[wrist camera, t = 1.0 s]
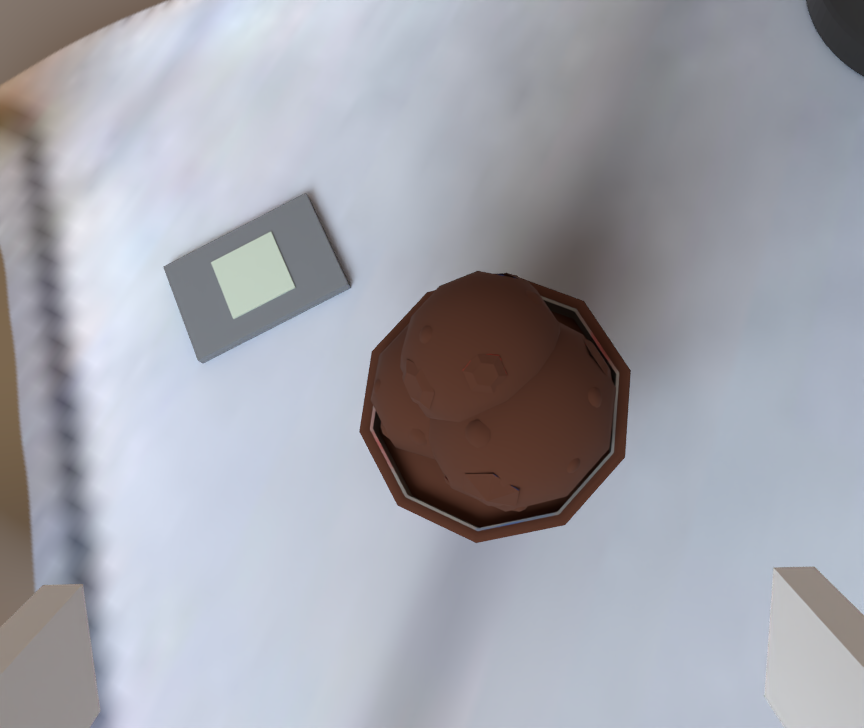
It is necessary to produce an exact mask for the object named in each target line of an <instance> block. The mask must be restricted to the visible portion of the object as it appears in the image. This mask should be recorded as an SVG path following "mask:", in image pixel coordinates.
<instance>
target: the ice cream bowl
mask: <svg viewBox="0 0 864 728" xmlns="http://www.w3.org/2000/svg"><path fill="white" fill-rule="evenodd" d="M630 371H631V370H630V369H629V368H628V366H627V365H626V363H625V362H624V360H623V359H622V357H621V356H620V354H619V353H618V351H617V350H616V348H615V347H614V345H613V344H612V342H611V341H610V339H609V338H608V336H607V335H606V333H605V332H604V330H603V329H602V328H601V326H600V325H599V323H598V322H597V320H596V319H595V317H594V316H593V314H592V313H591V311H590V310H589V308H588V307H587V305H586V304H585V302H584V301H582V300H579V299H576V298H574V297H571V296H568V295H566V294H563V293H560V292H557V291H555V290H552V289H549V288H546V287H544V286H541V285H538V284H535V283H533V282H530V281H527V280H524V279H522V278H520V277H518V276H517V275H512V274H508V273H504V274H491V273H486V272H481V271H476V272H474V273H471V274H469V275H466V276H464V277H461V278H459V279H456V280H454V281H451V282H449V283H446V284H444V285H441V286H439V287H438V288H437V290H435V291H431V292H427V293H426V294H425V295H424V296H423V297H422V298H421V300H420V301H419V302H418V303H417V304H416V305H415V306H414V307H413V308H412V309H411V310H410V311H409V312H408V313H407V315H406V316H405V317H404V318H403V319H402V320H401V321H400V322H399V323H398V324H397V325H396V326H395V327H394V328H393V329H392V331H391V332H390V333H389V334H388V335H387V336H386V337H385V338H384V339H383V340H382V341H381V342H380V343H379V344H378V345H377V347H376V348H375V349H374V350H373V351H372V354H371V361H370V367H369V374H368V380H367V386H366V393H365V399H364V406H363V412H362V419H361V425H360V433H361V435H362V437H363V439H364V441H365V443H366V445H367V447H368V449H369V451H370V453H371V455H372V457H373V459H374V461H375V462H376V464H377V466H378V468H379V470H380V472H381V474H382V476H383V478H384V480H385V482H386V484H387V486H388V488H389V490H390V492H391V493H392V495H393V497H394V499H395V501H396V503H397V505H398V506H400V507H402V508H404V509H406V510H409V511H411V512H413V513H415V514H417V515H419V516H421V517H423V518H425V519H427V520H429V521H432V522H434V523H436V524H438V525H440V526H442V527H444V528H446V529H448V530H450V531H452V532H455V533H457V534H459V535H461V536H463V537H465V538H467V539H469V540H471V541H473V542H475V543H478V542H483V541H488V540H493V539H498V538H503V537H508V536H513V535H518V534H523V533H528V532H532V531H537V530H542V529H547V528H552V527H557V526H562V525H565V524H566V523H567V522H568V521H569V520H570V519H571V518H572V516H573V515H574V514H575V513H576V512H577V511H578V510H579V509H580V507H581V506H582V505H583V504H584V503H585V502H586V501H587V500H588V498H589V497H590V496H591V495H592V494H593V493H594V492H595V490H596V489H597V488H598V487H599V486H600V485H601V484H602V483H603V481H604V480H605V479H606V478H607V477H608V476H609V475H610V474H611V472H612V471H613V470H614V469H615V468H616V467H617V466H618V465H619V463H620V462H621V461H622V460H623V459H624V458H625V448H626V433H627V417H628V402H629V387H630Z"/></svg>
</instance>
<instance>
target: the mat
mask: <svg viewBox="0 0 864 728" xmlns="http://www.w3.org/2000/svg"><path fill="white" fill-rule="evenodd" d="M164 270H165V273H166V275H167V278H168V281H169V283H170V286H171V289H172V292H173V294H174V297H175V300H176V302H177V305H178V308H179V310H180V313H181V316H182V319H183V321H184V324H185V327H186V329H187V332H188V335H189V338H190V340H191V343H192V346H193V348H194V351H195V354H196V357H197V359H198V361H200V362H201V363H205V362H207V361H208V360H210V359H212V358H214V357H216V356H218V355H220V354H222V353H224V352H226V351H228V350H230V349H232V348H234V347H236V346H238V345H240V344H242V343H244V342H246V341H248V340H250V339H252V338H254V337H255V336H257V335H259V334H261V333H263V332H265V331H267V330H269V329H271V328H273V327H275V326H277V325H279V324H281V323H283V322H285V321H287V320H289V319H291V318H293V317H295V316H297V315H299V314H301V313H302V312H304V311H306V310H308V309H310V308H312V307H314V306H316V305H318V304H320V303H322V302H324V301H326V300H328V299H330V298H332V297H334V296H336V295H338V294H340V293H342V292H344V291H346V290H348V289H349V288H351V287H350V285H349V283H348V281H347V279H346V277H345V275H344V272H343V270H342V268H341V266H340V264H339V262H338V259H337V257H336V255H335V253H334V251H333V249H332V246H331V244H330V242H329V240H328V238H327V236H326V233H325V231H324V229H323V227H322V225H321V223H320V221H319V218H318V216H317V214H316V212H315V210H314V208H313V205H312V203H311V201H310V199H309V197H308V196H307V194H306V193H305V194H303V195H301V196H299V197H297V198H295V199H293V200H292V201H290V202H288V203H286V204H284V205H282V206H280V207H278V208H276V209H274V210H272V211H270V212H268V213H266V214H264V215H263V216H261V217H259V218H257V219H255V220H253V221H251V222H249V223H247V224H245V225H243V226H241V227H239V228H237V229H236V230H234V231H232V232H230V233H228V234H226V235H224V236H222V237H220V238H218V239H216V240H214V241H212V242H210V243H208V244H207V245H205V246H203V247H201V248H199V249H197V250H195V251H193V252H191V253H189V254H187V255H185V256H183V257H181V258H180V259H178V260H176V261H174V262H172V263H170V264H168V265H166V266H164Z"/></svg>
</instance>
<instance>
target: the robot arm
mask: <svg viewBox="0 0 864 728" xmlns="http://www.w3.org/2000/svg"><path fill="white" fill-rule="evenodd" d="M806 1H807V7H808V10H809V13H810V16H811V19H812V21H813V24H814V26H815V28H816V30H817V31H818V33H819V35H820V36H821V38H822V39H823V41H824V42H825V43H826V45H827V46H828V47H829V48H830V49H831V51H832V52H833V53H834V54H835V55H836V56H837V57H838V58H839V59H840V60H841V61H843V62H844V63H845V64H846V65H847V66H849V67H850V68H851V69H853V70H854V71H856V72H857V73H859V74H860V75H862V76H864V0H806ZM764 697H765V698H766V700H767V702H768V703H769V705H770V706H771V708H772V709H773V711H774V712H775V714H776V715H777V717H778V718H779V720H780V722H781V723H782V725H783V726H784V728H864V615H863V614H862V613H861V612H860V611H859V610H858V609H857V608H856V607H855V606H854V605H853V604H852V603H851V602H850V601H849V600H848V599H847V598H846V597H845V596H844V595H842V594H841V593H840V592H839V591H838V590H837V589H836V588H835V587H834V586H833V585H832V584H831V583H830V582H829V581H828V580H827V579H826V578H825V577H824V576H823V575H822V574H821V573H820V572H819V571H818V570H817V569H816V568H815V567H780V568H773V582H772V596H771V610H770V624H769V638H768V652H767V666H766V680H765V694H764ZM99 712H100V705H99V698H98V691H97V684H96V676H95V669H94V662H93V655H92V648H91V640H90V633H89V626H88V619H87V611H86V604H85V597H84V590H83V584H71V585H43V586H42V587H41V588H40V589H39V590H38V591H36V592H35V593H34V594H33V595H32V597H31V598H30V599H28V600H27V601H26V602H25V603H24V604H23V605H22V606H21V607H20V608H19V609H18V610H17V611H16V613H14V614H13V615H12V616H11V617H10V618H9V619H8V620H7V621H6V622H5V624H3V625H2V626H1V627H0V728H90V726H91V725H92V723H93V722H94V720H95V719H96V717H97V716H98V714H99Z"/></svg>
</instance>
